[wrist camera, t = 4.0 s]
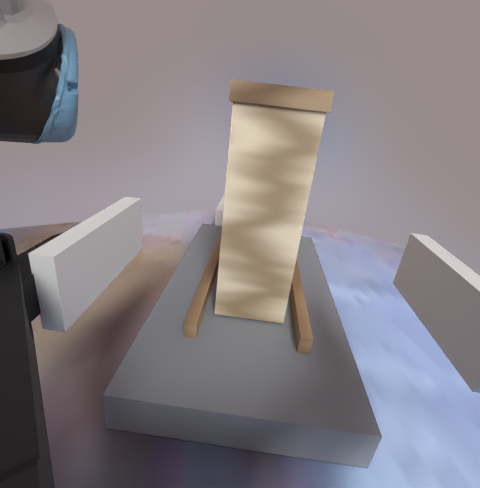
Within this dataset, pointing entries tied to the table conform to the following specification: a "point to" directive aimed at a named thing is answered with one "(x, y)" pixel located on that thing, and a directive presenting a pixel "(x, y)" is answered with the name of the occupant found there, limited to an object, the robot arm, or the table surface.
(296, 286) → the lane rails
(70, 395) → the table surface
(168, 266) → the table surface
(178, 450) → the table surface
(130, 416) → the platform
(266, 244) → the tan tall block
